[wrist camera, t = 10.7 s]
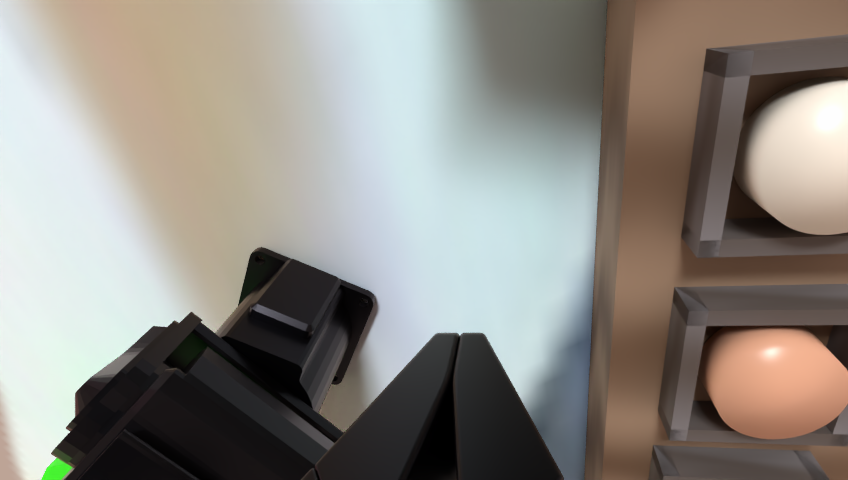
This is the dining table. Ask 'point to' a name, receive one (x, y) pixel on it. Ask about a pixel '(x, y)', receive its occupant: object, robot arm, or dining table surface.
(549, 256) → the dining table surface
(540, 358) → the dining table surface
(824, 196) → the button cream
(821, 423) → the button terracotta
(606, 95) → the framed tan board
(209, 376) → the robot arm
